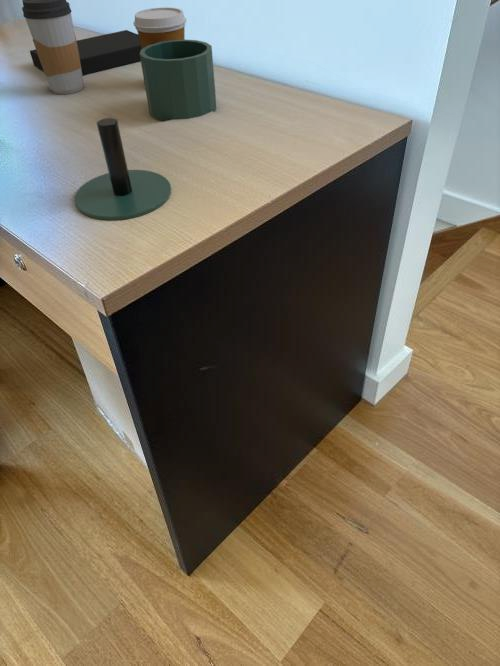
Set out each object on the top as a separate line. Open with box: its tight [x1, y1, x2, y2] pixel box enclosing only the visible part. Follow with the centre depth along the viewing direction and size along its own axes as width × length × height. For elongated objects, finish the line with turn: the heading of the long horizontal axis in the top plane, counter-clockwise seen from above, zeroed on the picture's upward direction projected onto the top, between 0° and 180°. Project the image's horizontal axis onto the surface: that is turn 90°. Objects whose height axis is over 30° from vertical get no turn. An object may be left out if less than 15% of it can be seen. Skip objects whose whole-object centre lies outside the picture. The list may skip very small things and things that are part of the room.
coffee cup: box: [21, 0, 85, 95], centre depth 94 cm, size 8×8×15 cm
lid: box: [73, 117, 172, 221], centre depth 63 cm, size 12×12×10 cm
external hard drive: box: [29, 29, 142, 76], centre depth 111 cm, size 14×23×3 cm, turn 127°
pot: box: [140, 39, 217, 122], centre depth 86 cm, size 12×12×10 cm
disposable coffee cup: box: [132, 6, 187, 49], centre depth 95 cm, size 10×10×12 cm
